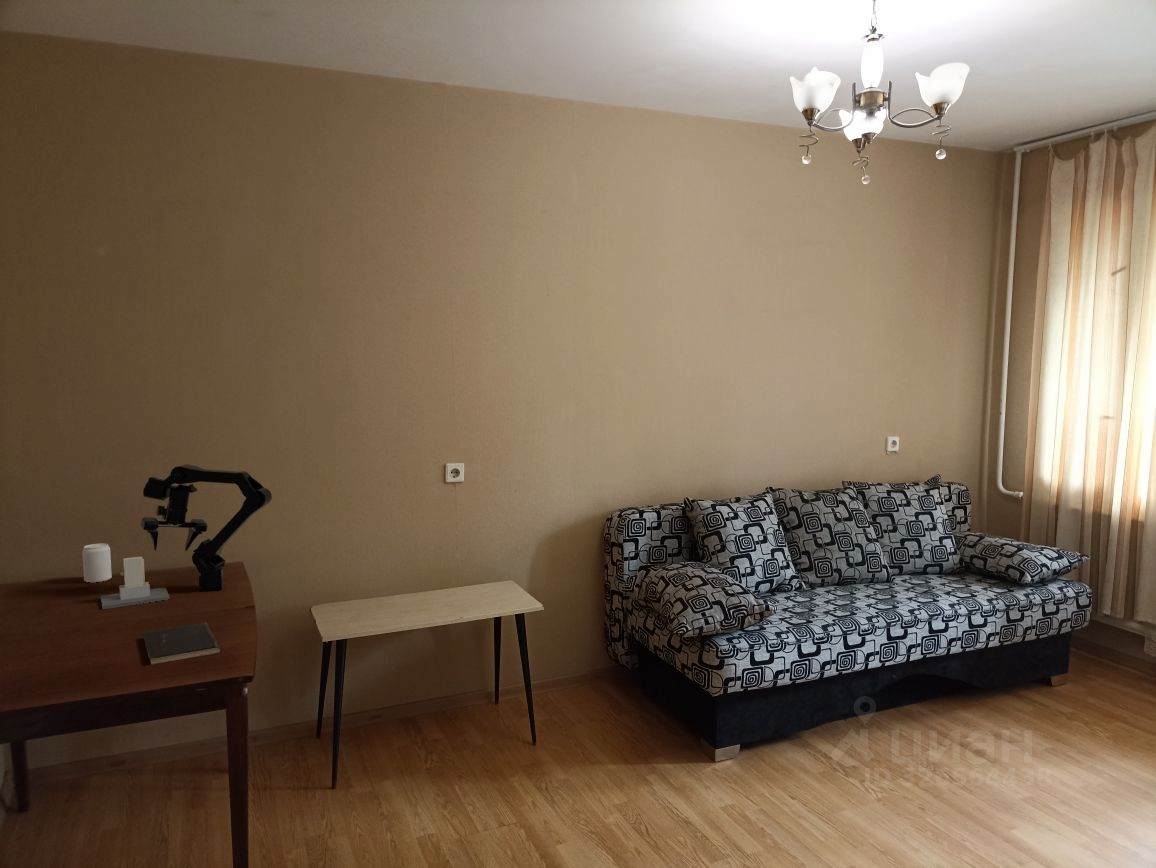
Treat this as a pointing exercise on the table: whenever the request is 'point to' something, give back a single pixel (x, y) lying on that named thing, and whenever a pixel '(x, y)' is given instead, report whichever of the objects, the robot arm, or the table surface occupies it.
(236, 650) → the table surface
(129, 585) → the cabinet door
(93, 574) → the beverage can
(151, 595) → the grey base plate
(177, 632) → the hardcover book
